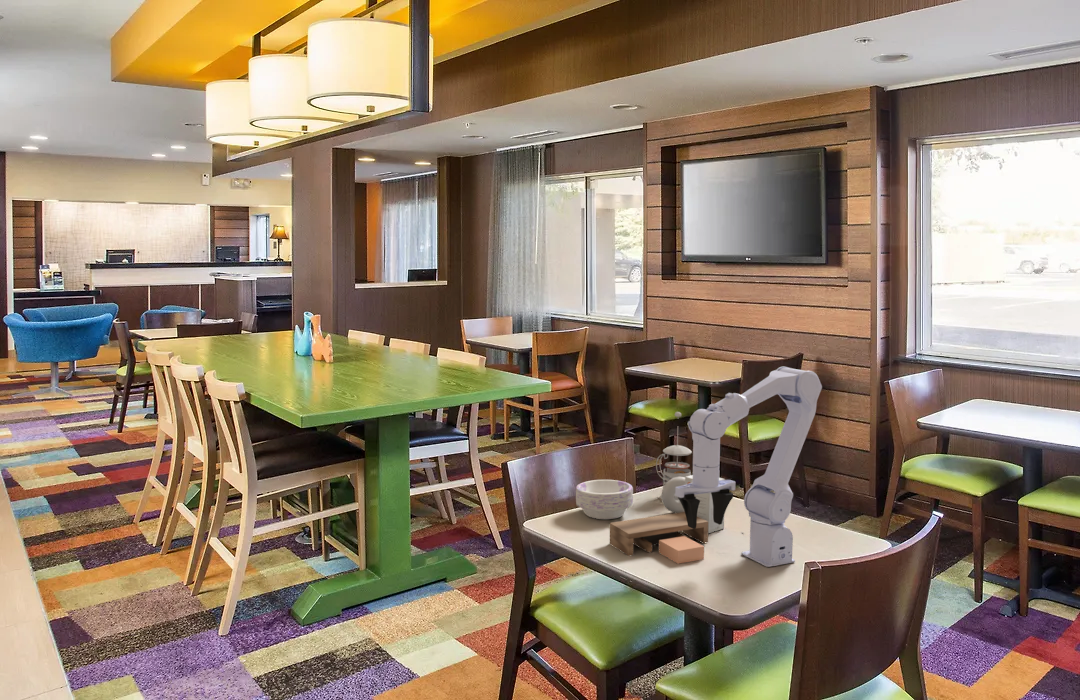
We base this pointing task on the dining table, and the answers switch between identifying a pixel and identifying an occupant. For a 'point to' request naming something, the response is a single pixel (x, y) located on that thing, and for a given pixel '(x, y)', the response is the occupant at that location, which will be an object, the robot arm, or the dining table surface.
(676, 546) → the cover
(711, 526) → the small box
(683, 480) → the donut
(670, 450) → the french press
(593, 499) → the paper bowls
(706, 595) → the dining table surface
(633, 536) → the wooden stand
